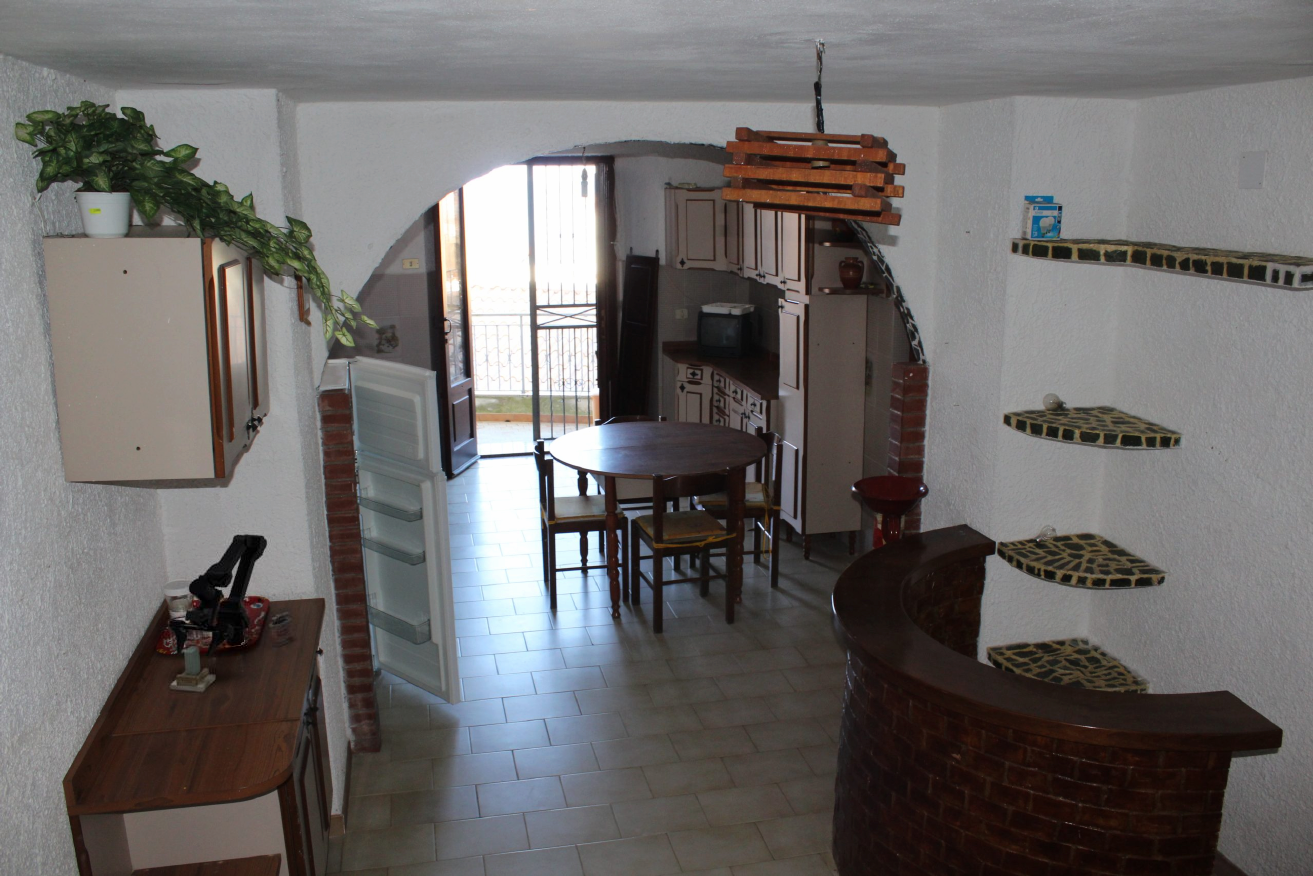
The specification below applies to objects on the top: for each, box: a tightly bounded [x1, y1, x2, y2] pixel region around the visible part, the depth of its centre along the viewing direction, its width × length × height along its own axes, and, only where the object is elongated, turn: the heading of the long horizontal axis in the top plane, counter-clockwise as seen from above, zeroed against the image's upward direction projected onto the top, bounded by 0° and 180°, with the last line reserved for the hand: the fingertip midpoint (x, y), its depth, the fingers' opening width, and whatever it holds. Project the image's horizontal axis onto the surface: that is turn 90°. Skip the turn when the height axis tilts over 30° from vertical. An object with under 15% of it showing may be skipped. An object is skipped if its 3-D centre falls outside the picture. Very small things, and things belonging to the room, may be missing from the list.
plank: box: [183, 645, 202, 676], centre depth 309 cm, size 4×2×10 cm, turn 176°
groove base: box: [169, 667, 216, 693], centre depth 309 cm, size 8×10×4 cm
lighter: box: [268, 611, 293, 648], centre depth 338 cm, size 8×3×10 cm, turn 146°
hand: (193, 655), depth 308 cm, fingers open, 9 cm apart
